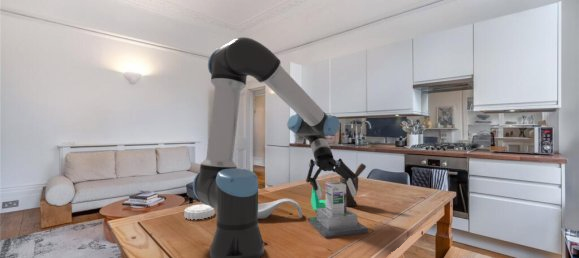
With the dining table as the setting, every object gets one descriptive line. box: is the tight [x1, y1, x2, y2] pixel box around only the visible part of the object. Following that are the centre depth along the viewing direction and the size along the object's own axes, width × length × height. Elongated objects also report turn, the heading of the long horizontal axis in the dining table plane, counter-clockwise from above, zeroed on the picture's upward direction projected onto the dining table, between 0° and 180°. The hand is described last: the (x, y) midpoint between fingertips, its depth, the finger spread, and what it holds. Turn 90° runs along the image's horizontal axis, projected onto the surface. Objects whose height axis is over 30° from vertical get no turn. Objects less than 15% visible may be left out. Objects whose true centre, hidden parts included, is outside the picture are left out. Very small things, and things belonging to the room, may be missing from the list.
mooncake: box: [183, 203, 216, 221], centre depth 107 cm, size 12×12×4 cm
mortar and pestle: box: [339, 163, 367, 207], centre depth 122 cm, size 12×9×20 cm
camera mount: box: [310, 186, 326, 212], centre depth 115 cm, size 12×8×10 cm, turn 6°
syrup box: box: [324, 181, 347, 216], centre depth 94 cm, size 6×6×14 cm
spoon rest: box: [258, 198, 303, 220], centre depth 105 cm, size 24×12×7 cm, turn 91°
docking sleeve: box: [307, 207, 369, 239], centre depth 93 cm, size 16×16×6 cm
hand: (338, 196), depth 93 cm, fingers open, 13 cm apart
